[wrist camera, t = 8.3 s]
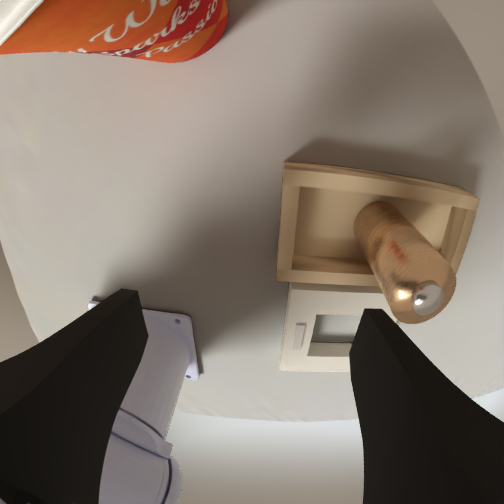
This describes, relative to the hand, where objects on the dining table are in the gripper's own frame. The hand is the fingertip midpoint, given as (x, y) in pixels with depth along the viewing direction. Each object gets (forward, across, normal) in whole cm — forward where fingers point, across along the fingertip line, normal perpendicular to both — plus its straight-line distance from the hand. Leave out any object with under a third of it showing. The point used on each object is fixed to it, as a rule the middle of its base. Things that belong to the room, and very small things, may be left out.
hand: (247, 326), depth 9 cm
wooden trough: (+9, -7, 0) cm, 12 cm away
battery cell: (+9, -7, 0) cm, 11 cm away
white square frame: (+9, -6, +8) cm, 14 cm away
